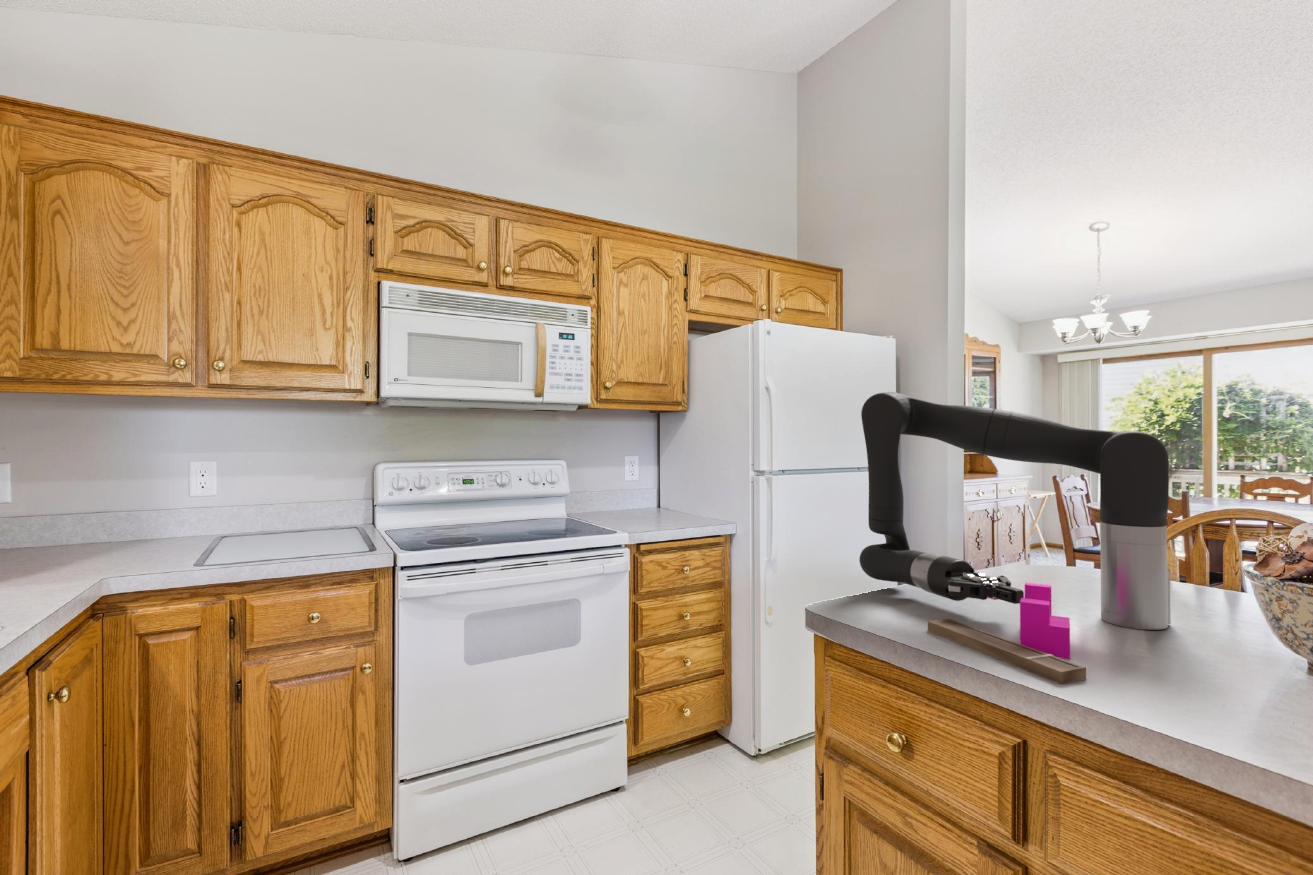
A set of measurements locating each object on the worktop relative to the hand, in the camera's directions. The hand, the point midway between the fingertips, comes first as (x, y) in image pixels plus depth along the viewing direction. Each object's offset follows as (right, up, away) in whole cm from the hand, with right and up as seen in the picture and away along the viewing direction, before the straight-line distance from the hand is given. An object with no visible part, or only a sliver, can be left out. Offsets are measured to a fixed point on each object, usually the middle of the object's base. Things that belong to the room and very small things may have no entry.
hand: (1020, 597), depth 102 cm
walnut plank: (-8, -6, -8) cm, 13 cm away
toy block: (+2, -6, -3) cm, 7 cm away
